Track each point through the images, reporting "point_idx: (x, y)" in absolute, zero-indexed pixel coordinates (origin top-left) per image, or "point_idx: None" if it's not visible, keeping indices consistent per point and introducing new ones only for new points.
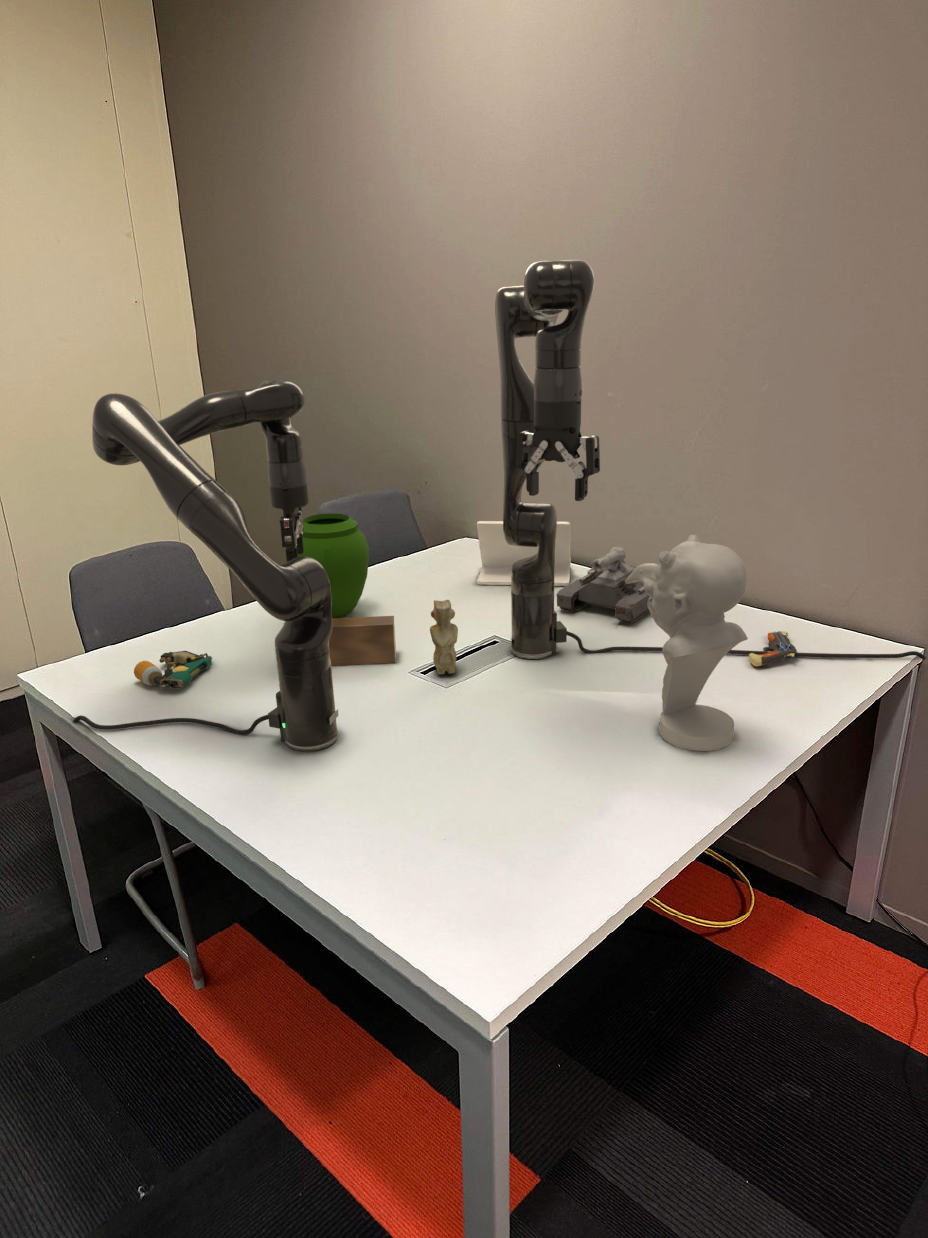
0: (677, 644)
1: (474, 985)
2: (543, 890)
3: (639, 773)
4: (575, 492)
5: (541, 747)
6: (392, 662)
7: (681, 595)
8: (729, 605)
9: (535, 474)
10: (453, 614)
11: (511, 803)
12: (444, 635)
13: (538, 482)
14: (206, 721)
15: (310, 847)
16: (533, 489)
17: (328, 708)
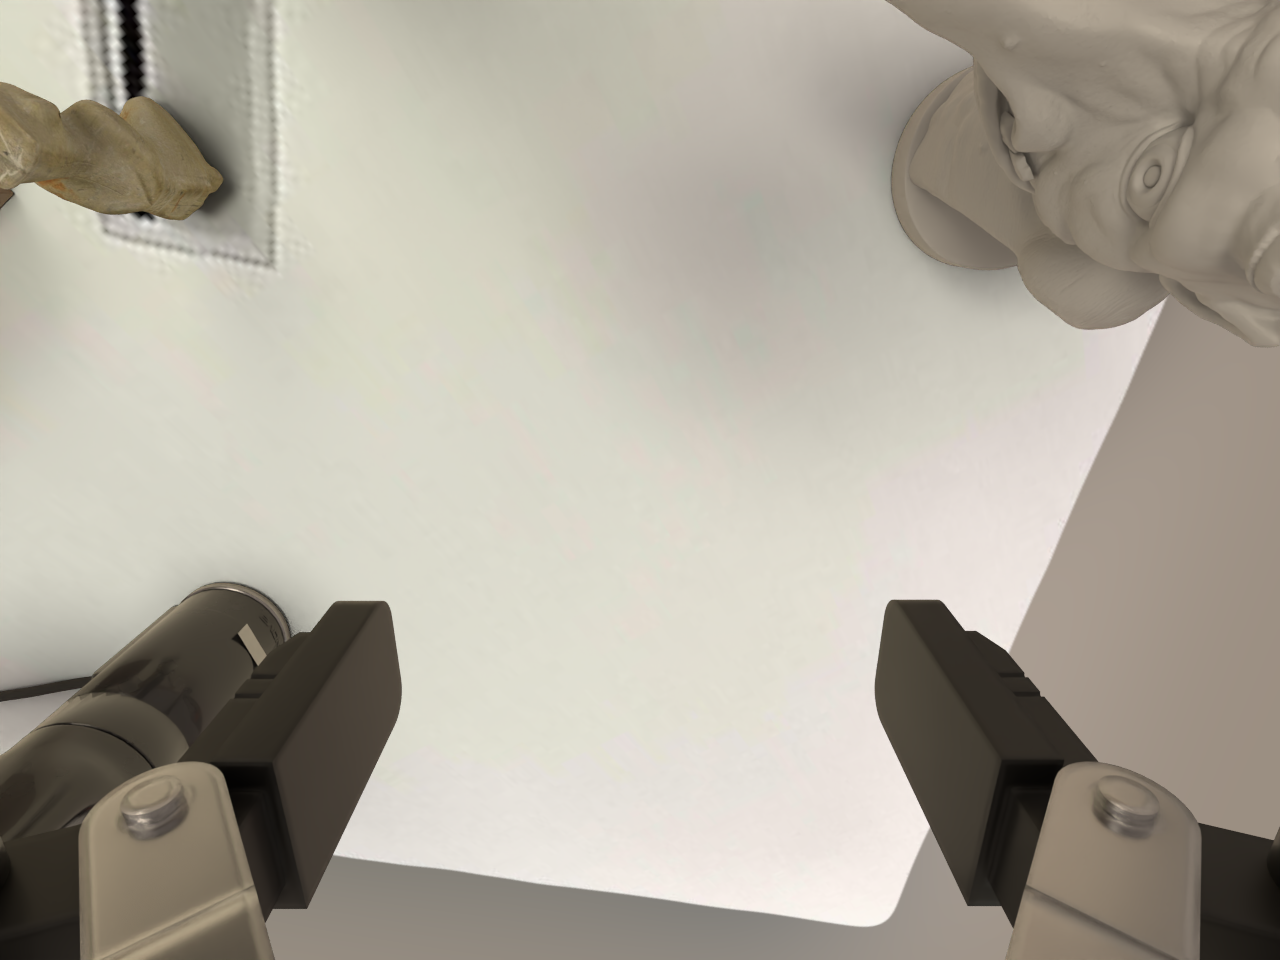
0: (1108, 310)
1: (852, 909)
2: (859, 765)
3: (900, 414)
4: (907, 765)
5: (666, 422)
6: (6, 199)
7: (1268, 343)
8: None
9: (301, 828)
10: (53, 116)
11: (715, 622)
12: (113, 182)
13: (338, 669)
14: (12, 698)
15: (512, 839)
16: (380, 733)
17: (244, 679)
